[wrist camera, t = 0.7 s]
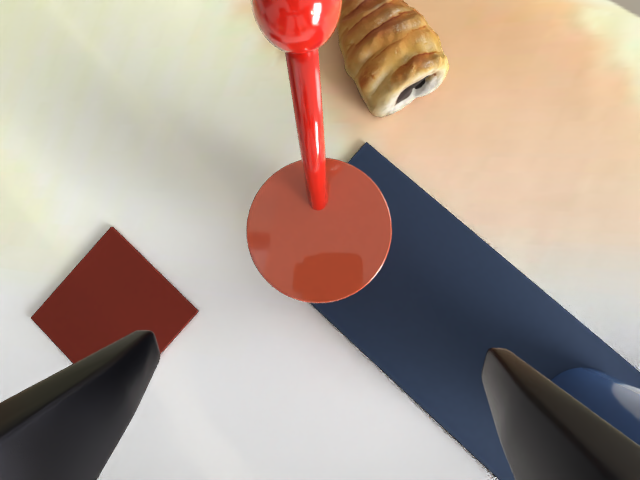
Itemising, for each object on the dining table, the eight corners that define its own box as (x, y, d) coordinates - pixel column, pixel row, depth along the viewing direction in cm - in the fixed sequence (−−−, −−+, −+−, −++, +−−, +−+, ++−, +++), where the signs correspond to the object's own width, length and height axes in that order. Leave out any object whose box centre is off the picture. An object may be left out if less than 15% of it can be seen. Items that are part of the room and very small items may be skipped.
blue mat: (543, 519, 21) (546, 523, 21) (262, 258, 24) (261, 258, 24) (662, 392, 21) (667, 394, 21) (365, 143, 24) (366, 141, 23)
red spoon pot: (372, 284, 23) (450, 368, 6) (287, 282, 23) (124, 354, 6) (372, 161, 23) (446, -106, 6) (289, 162, 24) (143, -80, 7)
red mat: (115, 404, 24) (112, 406, 24) (34, 317, 25) (30, 318, 25) (198, 311, 24) (197, 311, 24) (113, 226, 25) (110, 226, 25)
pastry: (315, 32, 25) (309, -9, 21) (388, -13, 24) (396, -63, 21) (375, 129, 24) (381, 104, 20) (452, 83, 24) (473, 49, 20)
